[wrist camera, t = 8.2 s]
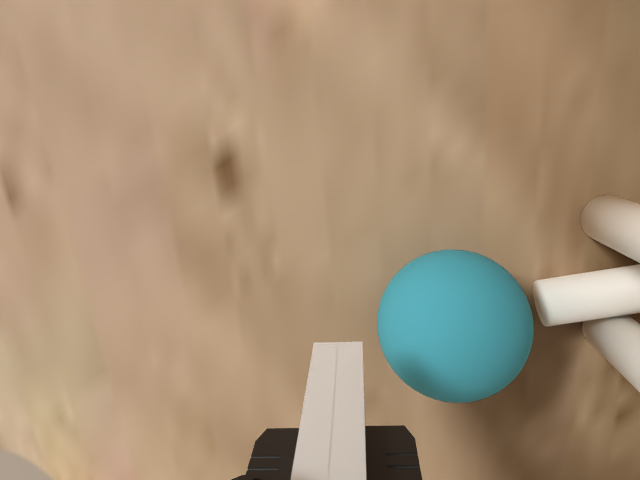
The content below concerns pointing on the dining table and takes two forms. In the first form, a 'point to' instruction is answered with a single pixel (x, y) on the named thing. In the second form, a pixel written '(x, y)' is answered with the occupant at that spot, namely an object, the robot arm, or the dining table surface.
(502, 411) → the dining table surface
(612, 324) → the pin
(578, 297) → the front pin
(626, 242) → the pin
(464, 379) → the teal ball
